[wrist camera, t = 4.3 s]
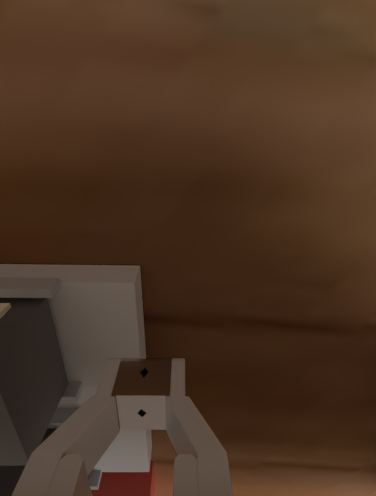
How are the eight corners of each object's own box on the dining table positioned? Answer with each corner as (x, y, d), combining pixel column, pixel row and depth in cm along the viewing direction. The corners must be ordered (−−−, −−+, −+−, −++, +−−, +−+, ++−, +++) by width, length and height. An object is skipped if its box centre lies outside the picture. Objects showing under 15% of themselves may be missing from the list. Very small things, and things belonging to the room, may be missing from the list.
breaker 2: (78, 422, 14) (47, 506, 11) (90, 473, 16) (68, 556, 13) (-18, 421, 14) (-76, 507, 11) (8, 473, 16) (-35, 557, 13)
